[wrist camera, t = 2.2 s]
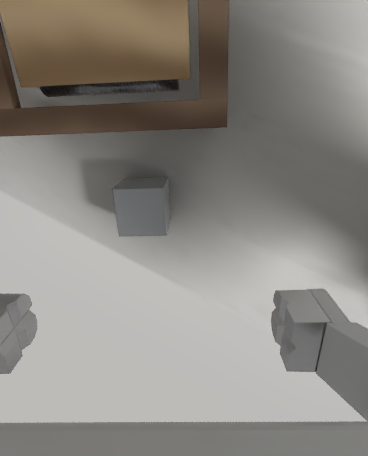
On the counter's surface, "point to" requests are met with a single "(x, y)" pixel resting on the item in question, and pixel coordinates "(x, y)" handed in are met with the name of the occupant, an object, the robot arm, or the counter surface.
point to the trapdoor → (98, 45)
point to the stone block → (142, 206)
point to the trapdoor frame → (132, 112)
